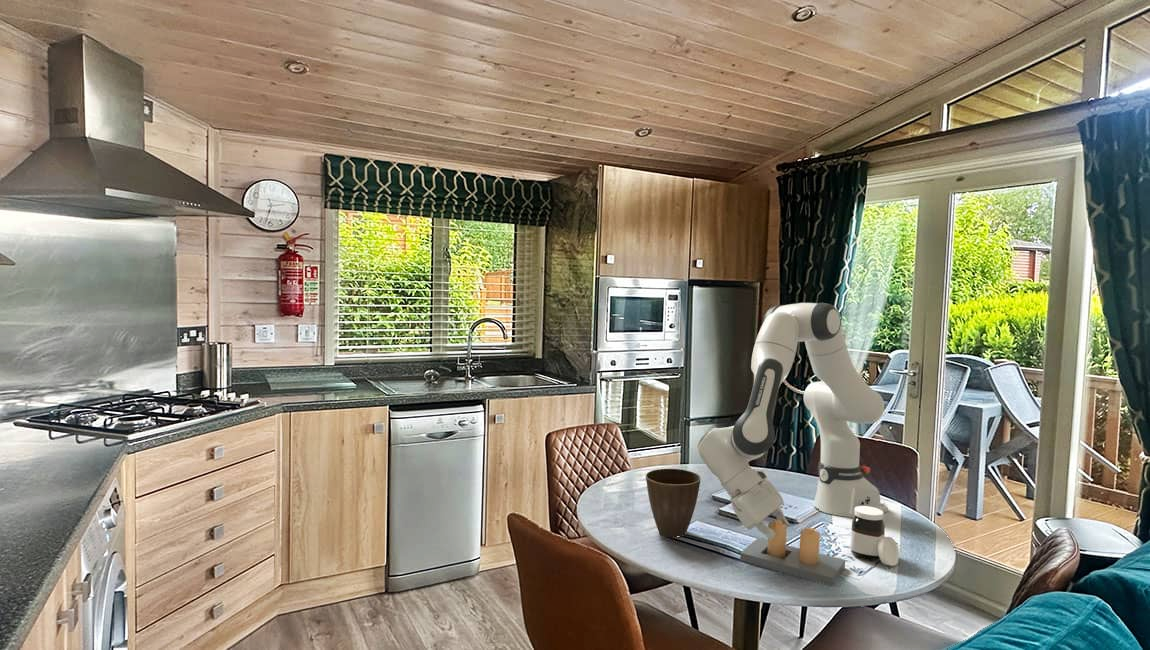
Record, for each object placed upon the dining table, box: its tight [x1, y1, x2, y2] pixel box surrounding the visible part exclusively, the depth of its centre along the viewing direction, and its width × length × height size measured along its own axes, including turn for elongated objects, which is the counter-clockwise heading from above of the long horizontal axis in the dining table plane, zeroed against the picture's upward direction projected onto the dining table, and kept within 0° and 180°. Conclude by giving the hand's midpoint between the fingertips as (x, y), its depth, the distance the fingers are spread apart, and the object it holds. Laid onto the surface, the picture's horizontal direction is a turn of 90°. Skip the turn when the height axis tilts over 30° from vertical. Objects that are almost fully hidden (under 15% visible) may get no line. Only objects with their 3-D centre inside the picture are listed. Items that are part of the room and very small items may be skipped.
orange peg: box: [767, 519, 788, 559], centre depth 162 cm, size 4×4×10 cm
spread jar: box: [850, 506, 900, 567], centre depth 165 cm, size 12×11×12 cm
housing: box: [739, 526, 846, 586], centre depth 160 cm, size 22×12×10 cm, turn 54°
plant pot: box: [645, 468, 702, 538], centre depth 178 cm, size 15×15×16 cm
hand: (779, 531), depth 162 cm, fingers open, 8 cm apart
